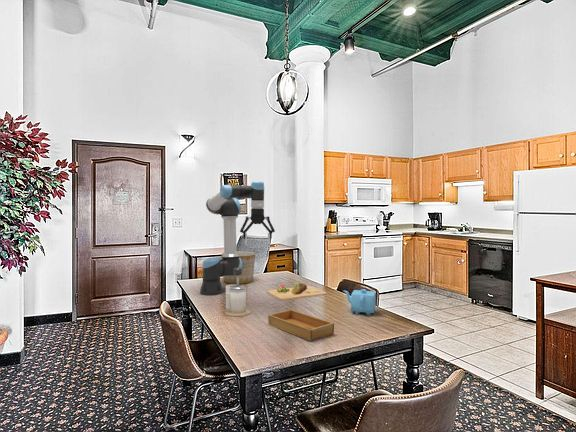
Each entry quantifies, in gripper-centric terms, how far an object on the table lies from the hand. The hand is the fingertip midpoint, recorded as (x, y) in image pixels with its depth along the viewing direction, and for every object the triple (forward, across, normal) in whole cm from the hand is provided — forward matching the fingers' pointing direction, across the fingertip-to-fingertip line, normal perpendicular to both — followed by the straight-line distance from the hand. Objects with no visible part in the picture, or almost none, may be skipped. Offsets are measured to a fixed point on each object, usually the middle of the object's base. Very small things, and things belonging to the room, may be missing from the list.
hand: (257, 244), depth 214 cm
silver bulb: (+23, -13, -10) cm, 28 cm away
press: (+37, -12, -10) cm, 40 cm away
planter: (+37, -3, +72) cm, 81 cm away
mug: (+37, -12, +9) cm, 40 cm away
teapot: (+37, +54, -23) cm, 69 cm away
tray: (+37, +14, -43) cm, 59 cm away
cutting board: (+38, +31, +25) cm, 55 cm away
